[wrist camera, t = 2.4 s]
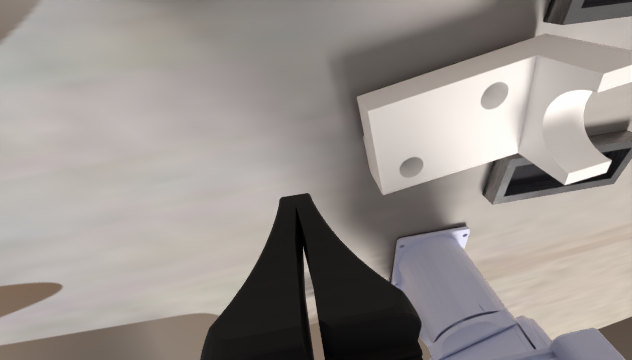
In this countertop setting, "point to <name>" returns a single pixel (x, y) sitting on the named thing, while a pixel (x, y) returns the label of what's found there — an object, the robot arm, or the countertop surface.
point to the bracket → (493, 113)
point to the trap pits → (530, 181)
